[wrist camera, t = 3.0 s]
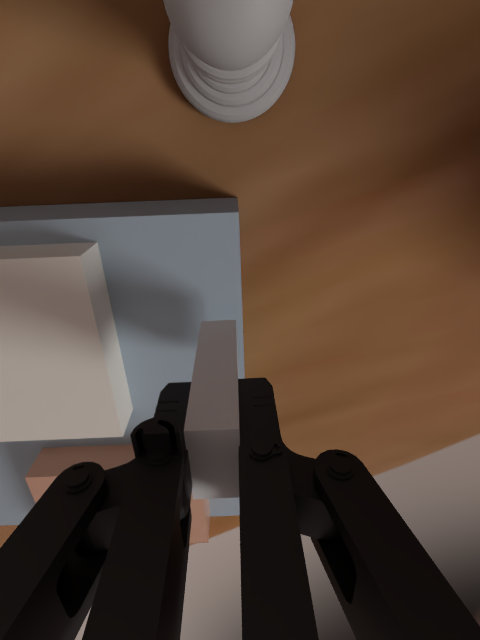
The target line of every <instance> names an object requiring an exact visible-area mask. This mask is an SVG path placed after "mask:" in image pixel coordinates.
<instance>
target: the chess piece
mask: <svg viewBox="0 0 480 640" xmlns="http://www.w3.org/2000/svg"><path fill="white" fill-rule="evenodd" d="M163 1H164V6H165V9H166V13H167V16H168V18H169V21H170V23H171V24H170V28H169V37H168V50H169V59H170V64H171V69H172V72H173V75H174V78H175V80H176V82H177V84H178V86H179V88H180V90H181V92H182V93H183V95H184V96H185V97H186V99H187V100H188V101H189V102H190V103H191V104H192V105H193V106H194V107H195V108H196V109H197V110H198V111H200V112H201V113H203V114H204V115H206V116H208V117H210V118H212V119H214V120H218V121H221V122H228V123H238V122H244V121H248V120H250V119H253V118H255V117H257V116H259V115H261V114H262V113H264V112H265V111H267V110H268V109H269V108H270V107H271V106H272V105H273V104H274V103H275V102H276V101H277V100H278V98H279V97H280V95H281V94H282V92H283V91H284V89H285V87H286V85H287V83H288V81H289V78H290V75H291V72H292V68H293V64H294V57H295V34H294V28H293V23H292V20H291V17H290V11H291V7H292V3H293V0H163Z"/></svg>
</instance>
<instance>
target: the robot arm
mask: <svg viewBox="0 0 480 640" xmlns="http://www.w3.org/2000/svg"><path fill="white" fill-rule="evenodd" d="M130 436H131V441H132V445H133V450H134V454H135V459H133V460H131V461H130V462H128V463H125V464H123V465H120V466H117V467H114V468H111V469H107V470H104V469H103V468H102V466H101V465H100V464H98V463H95V462H81V463H78V464H74V465H72V466H70V467H69V468H67V469H65V470H64V471H63V472H62V473H61V474H59V475H58V476H57V477H56V479H55V480H54V481H53V482H52V484H51V485H50V486H49V487H48V489H47V490H46V491H45V492H44V494H43V495H42V496H41V498H40V499H39V500H38V501H37V503H36V504H35V505H34V506H33V508H32V509H31V510H30V511H29V513H28V514H27V515H26V516H25V518H24V519H23V520H22V522H21V523H20V524H19V525H18V527H17V528H16V529H15V530H14V532H13V533H12V534H11V535H10V537H9V538H8V539H7V541H6V542H5V543H4V544H3V546H2V547H1V548H0V640H74V639H75V638H76V636H77V634H78V632H79V630H80V628H81V626H82V624H83V621H84V620H85V618H86V616H87V614H88V612H89V610H90V608H91V610H90V614H89V617H88V621H87V624H86V627H85V631H84V635H83V638H82V640H180V632H181V623H182V613H183V602H184V593H185V582H186V572H187V562H188V552H189V542H190V531H191V521H192V514H191V506H190V503H191V494H192V496H193V500H194V499H216V498H239V507H240V553H241V596H242V597H241V600H242V640H319V639H318V633H317V628H316V621H315V616H314V610H313V604H312V598H311V593H310V587H309V582H308V575H307V569H306V564H305V558H304V552H303V547H302V541H301V535H300V534H303V535H306V536H309V537H311V540H312V542H313V544H314V547H315V549H316V551H317V553H318V555H319V557H320V560H321V562H322V564H323V566H324V569H325V571H326V573H327V575H328V578H329V580H330V582H331V584H332V586H333V589H334V591H335V593H336V595H337V598H338V600H339V602H340V604H341V606H342V609H343V611H344V613H345V615H346V618H347V620H348V622H349V624H350V626H351V629H352V631H353V633H354V635H355V637H356V640H480V626H479V625H478V623H477V622H476V620H475V619H474V618H473V616H472V615H471V613H470V612H469V611H468V609H467V608H466V606H465V605H464V604H463V602H462V601H461V599H460V598H459V597H458V595H457V594H456V593H455V591H454V590H453V588H452V587H451V586H450V584H449V583H448V581H447V580H446V579H445V577H444V576H443V574H442V573H441V572H440V570H439V569H438V567H437V566H436V565H435V563H434V562H433V561H432V559H431V558H430V556H429V555H428V553H427V552H426V551H425V549H424V548H423V546H422V545H421V544H420V542H419V541H418V540H417V538H416V537H415V535H414V534H413V533H412V531H411V530H410V529H409V527H408V526H407V524H406V523H405V521H404V520H403V519H402V517H401V516H400V514H399V513H398V512H397V510H396V509H395V508H394V506H393V505H392V503H391V502H390V500H389V499H388V498H387V496H386V495H385V493H384V492H383V491H382V489H381V488H380V486H379V485H378V484H377V482H376V481H375V480H374V478H373V477H372V475H371V474H370V473H369V471H368V470H367V468H366V467H365V466H364V464H363V463H362V462H361V461H360V460H359V459H358V458H357V457H356V456H354V455H353V454H351V453H349V452H347V451H342V450H338V449H337V450H327V451H325V452H323V453H321V454H320V455H319V456H318V457H317V458H316V459H314V458H309V457H305V456H302V455H299V454H296V453H294V452H293V451H291V450H290V449H289V448H287V447H286V446H285V444H284V443H283V441H282V438H281V434H280V429H279V423H278V417H277V411H276V406H275V399H274V393H273V387H272V385H271V384H270V383H269V382H268V380H267V379H266V378H247V379H238V355H237V333H236V320H217V321H201V325H200V331H199V337H198V344H197V350H196V356H195V363H194V369H193V375H192V382H175V383H168V384H167V385H166V386H165V387H164V388H163V389H162V391H161V392H160V395H159V399H158V404H157V406H156V410H155V413H154V417H153V418H150V419H147V420H145V421H143V422H141V423H140V424H139V425H137V426H136V427H135V428H134V429H133V431H132V433H131V434H130ZM91 606H92V607H91Z"/></svg>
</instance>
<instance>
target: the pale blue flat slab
mask: <svg viewBox="0 0 480 640" xmlns="http://www.w3.org/2000/svg"><path fill="white" fill-rule="evenodd" d="M89 242H98V247H99V252H100V256H101V261H102V266H103V271H104V275H105V280H106V285H107V289H108V294H109V299H110V304H111V308H112V313H113V318H114V322H115V327H116V332H117V337H118V341H119V346H120V351H121V355H122V360H123V365H124V369H125V374H126V379H127V384H128V388H129V393H130V398H131V402H132V407H133V410H132V413H131V416H130V419H129V422H128V424H127V427H126V430H125V433H124V435H123V437H105V438H81V439H57V440H33V441H9V442H0V525H19V524H20V523H21V522H22V520H23V519H24V518H25V516H26V515H27V514H28V513H29V511H30V510H31V509H32V508H33V506H34V505H35V504H36V503H35V501H34V498H33V496H32V494H31V491H30V489H29V487H28V484H27V482H26V480H25V476H26V475H27V473H28V471H29V470H30V468H31V466H32V465H33V463H34V461H35V460H36V458H37V456H38V455H39V453H40V451H41V450H42V448H55V447H79V446H103V445H126V444H132V441H131V436H130V434H131V433H132V431H133V429H134V428H135V427H136V426H137V425H139V424H140V423H141V422H143V421H145V420H147V419H150V418H153V417H154V413H155V410H156V406H157V404H158V399H159V395H160V392H161V391H162V389H163V388H164V387H165V386H166V385H167V384H168V383H175V382H192V375H193V369H194V363H195V356H196V350H197V344H198V337H199V331H200V325H201V321H217V320H236V333H237V355H238V379H245V375H244V347H243V319H242V291H241V263H240V235H239V210H238V200H237V197H236V198H211V199H186V200H161V201H135V202H110V203H85V204H60V205H34V206H9V207H0V246H14V245H39V244H64V243H89ZM209 506H210V516H232V515H240V507H239V498H216V499H209Z"/></svg>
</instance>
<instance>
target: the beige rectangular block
mask: <svg viewBox="0 0 480 640" xmlns="http://www.w3.org/2000/svg"><path fill="white" fill-rule="evenodd" d="M132 410H133V407H132V402H131V398H130V393H129V388H128V384H127V379H126V374H125V369H124V365H123V360H122V355H121V351H120V346H119V341H118V337H117V332H116V327H115V322H114V318H113V313H112V308H111V304H110V299H109V294H108V289H107V285H106V280H105V275H104V271H103V266H102V261H101V256H100V252H99V247H98V242H89V243H64V244H39V245H14V246H0V442H9V441H33V440H57V439H81V438H105V437H123V435H124V433H125V430H126V427H127V424H128V422H129V419H130V416H131V413H132Z"/></svg>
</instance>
